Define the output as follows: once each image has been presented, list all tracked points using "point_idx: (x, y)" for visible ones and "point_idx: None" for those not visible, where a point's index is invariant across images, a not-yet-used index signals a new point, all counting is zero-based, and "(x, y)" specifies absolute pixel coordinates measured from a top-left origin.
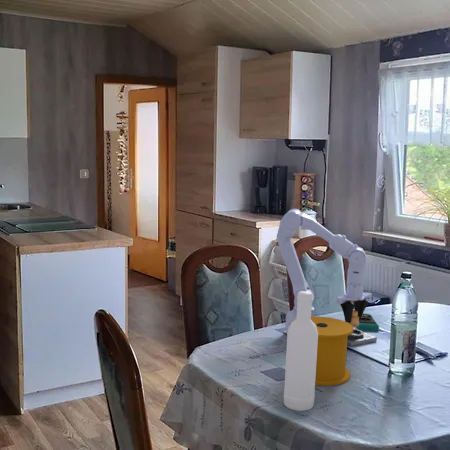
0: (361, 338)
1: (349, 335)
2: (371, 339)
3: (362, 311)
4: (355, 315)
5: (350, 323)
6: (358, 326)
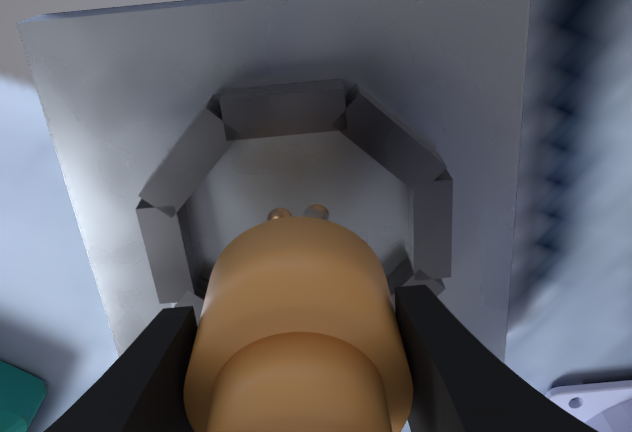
0: (269, 65)
1: (426, 146)
2: (126, 10)
3: (91, 425)
4: (311, 363)
5: (386, 284)
6: (29, 425)
